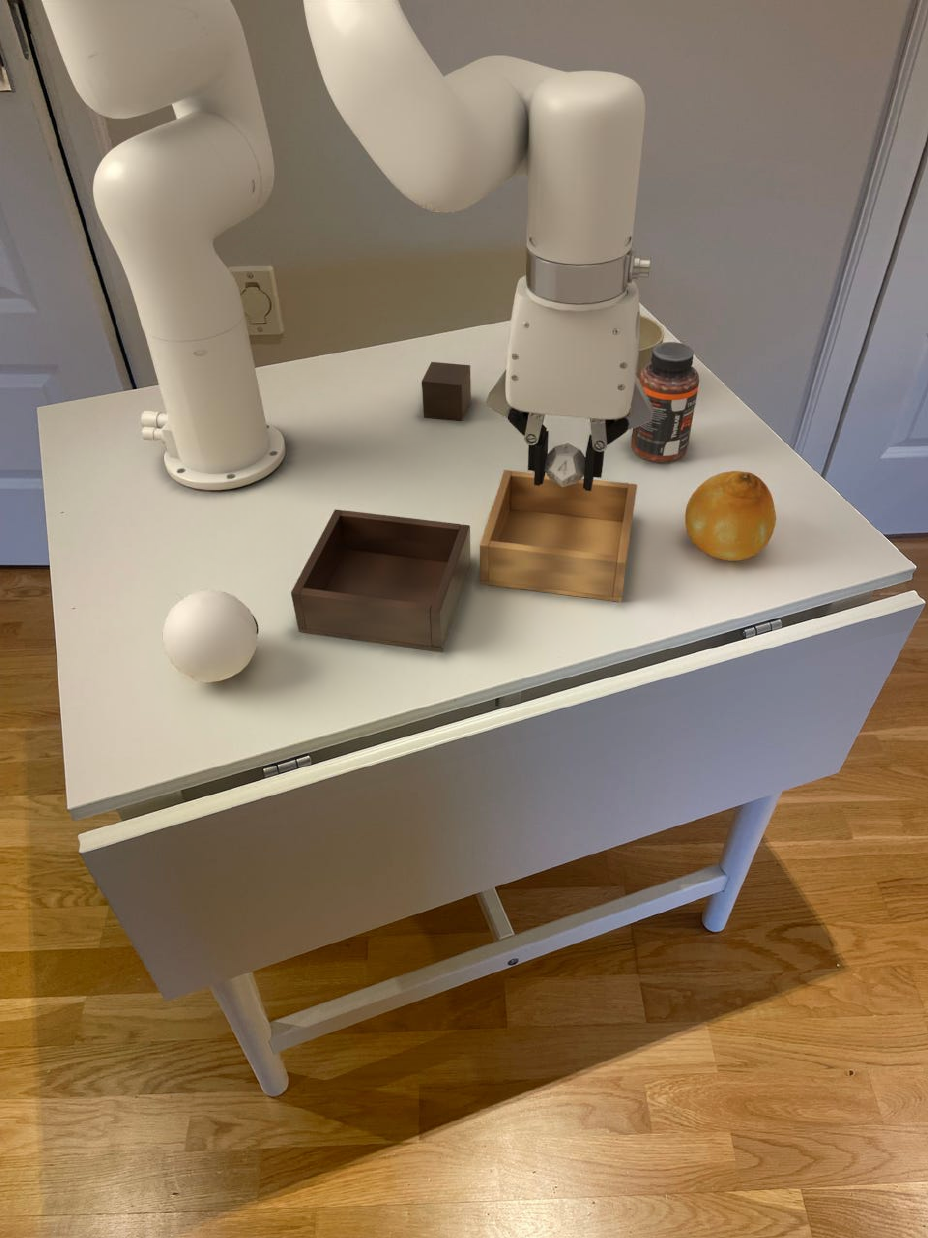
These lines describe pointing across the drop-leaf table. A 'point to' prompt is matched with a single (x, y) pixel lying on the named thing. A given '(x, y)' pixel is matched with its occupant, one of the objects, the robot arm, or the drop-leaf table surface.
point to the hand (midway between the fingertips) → (564, 477)
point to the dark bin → (383, 580)
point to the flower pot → (648, 341)
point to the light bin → (558, 537)
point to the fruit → (731, 516)
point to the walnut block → (446, 391)
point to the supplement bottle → (667, 403)
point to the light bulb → (210, 636)
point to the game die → (565, 464)
